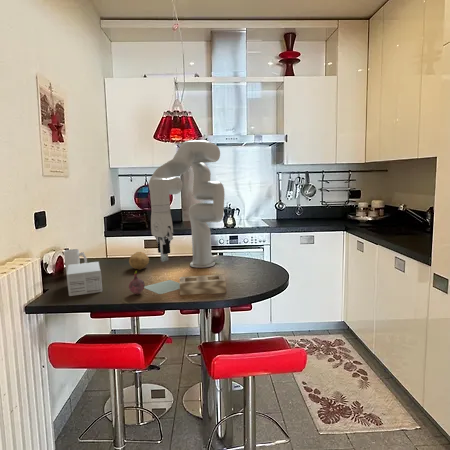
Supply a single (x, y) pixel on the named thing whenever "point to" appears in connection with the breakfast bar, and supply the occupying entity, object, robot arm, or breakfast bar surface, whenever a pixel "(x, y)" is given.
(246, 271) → the breakfast bar surface
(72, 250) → the mug
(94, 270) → the supplement box
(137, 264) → the potato
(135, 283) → the vegetable
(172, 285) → the mat
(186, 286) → the hole block
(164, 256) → the pin
